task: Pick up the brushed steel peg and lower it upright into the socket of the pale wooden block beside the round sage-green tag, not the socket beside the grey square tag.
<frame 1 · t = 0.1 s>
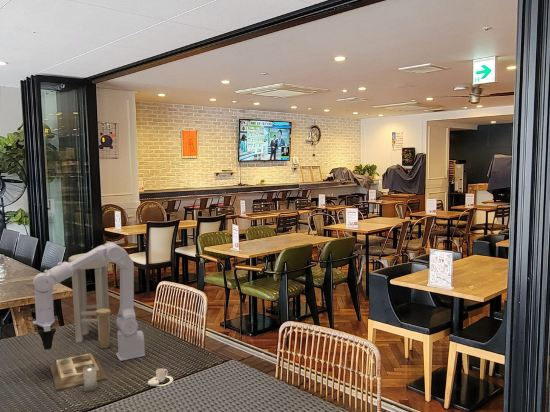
hand: (47, 345, 171), 10 cm above the table, tool pointing down, fingers open, 7 cm apart
peg: (90, 388, 159), on the table
stool: (93, 337, 207), on the table
handle: (105, 347, 195), on the table
socket block: (83, 371, 172), on the table
teacup and saucer: (152, 382, 164), on the table
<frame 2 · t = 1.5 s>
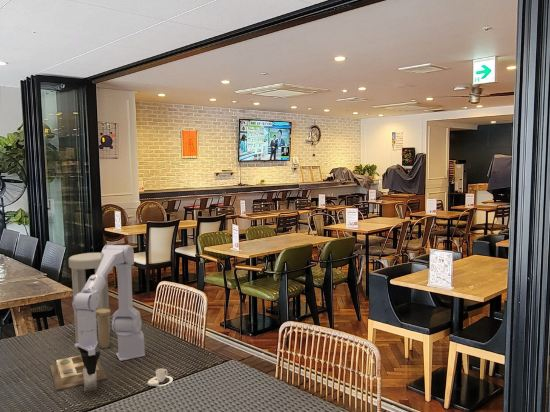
hand: (89, 369, 159), 7 cm above the table, tool pointing down, fingers open, 7 cm apart
nothing on the table moved.
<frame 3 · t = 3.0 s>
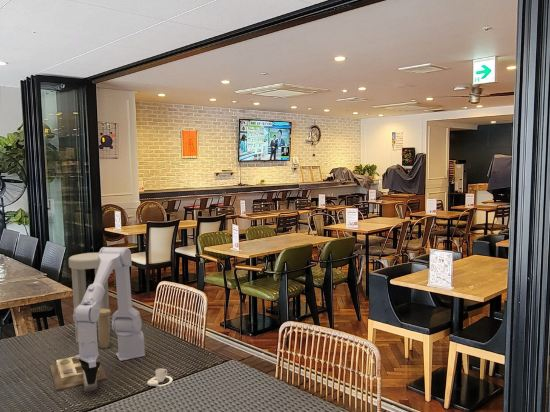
hand: (90, 380, 159), 3 cm above the table, tool pointing down, fingers closed on peg, 4 cm apart
peg: (90, 388, 159), on the table, touching gripper
everything else where it was.
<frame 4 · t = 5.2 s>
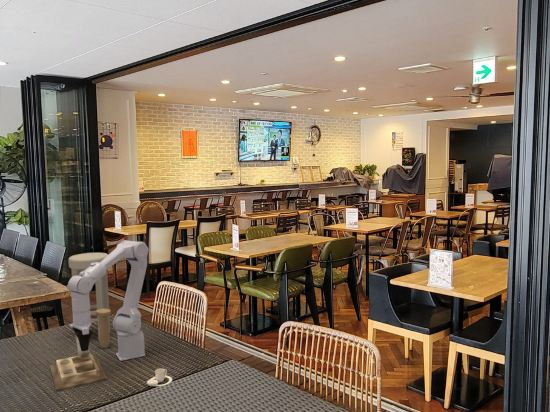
hand: (83, 348, 169), 10 cm above the table, tool pointing down, fingers closed on peg, 4 cm apart
peg: (84, 355, 169), point 7 cm above the table, touching gripper
everything else where it was.
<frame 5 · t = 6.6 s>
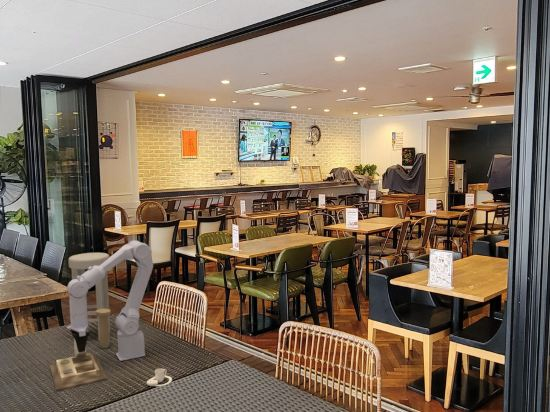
hand: (80, 349, 176), 7 cm above the table, tool pointing down, fingers closed on peg, 4 cm apart
peg: (80, 356, 176), point 4 cm above the table, touching gripper
everything else where it was.
when the fingers open (4 cm above the table, at t = 7.6 s): peg stays where it is, resting on socket block.
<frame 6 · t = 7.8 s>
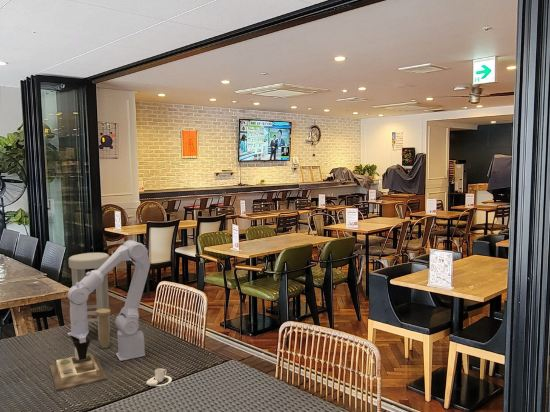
hand: (81, 356, 176), 4 cm above the table, tool pointing down, fingers open, 6 cm apart
peg: (81, 365, 176), point 1 cm above the table, touching socket block
everything else where it was.
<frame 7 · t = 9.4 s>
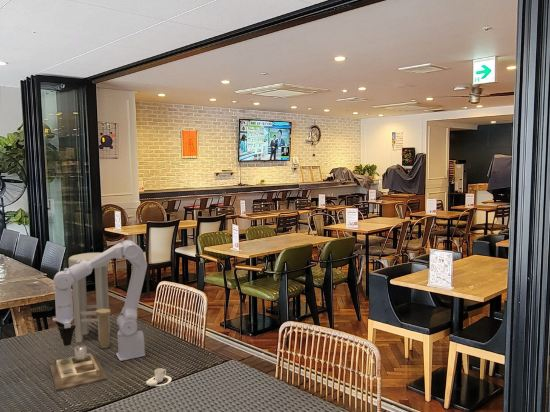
hand: (66, 341, 176), 10 cm above the table, tool pointing down, fingers open, 7 cm apart
nothing on the table moved.
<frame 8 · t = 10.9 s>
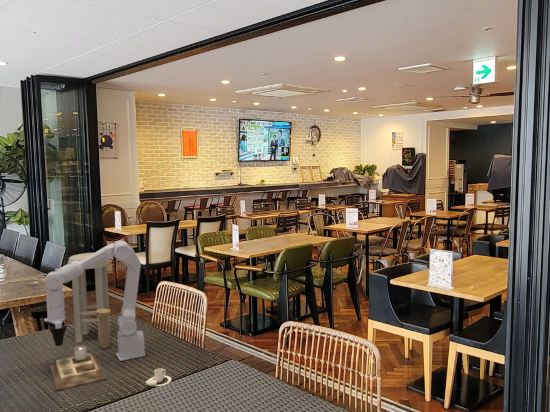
hand: (57, 342, 176), 9 cm above the table, tool pointing down, fingers open, 7 cm apart
nothing on the table moved.
at the end: peg 0.1 cm from the target spot on the socket block, point 0.6 cm above the socket block's base; peg tilted 0°; the gripper is holding nothing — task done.
